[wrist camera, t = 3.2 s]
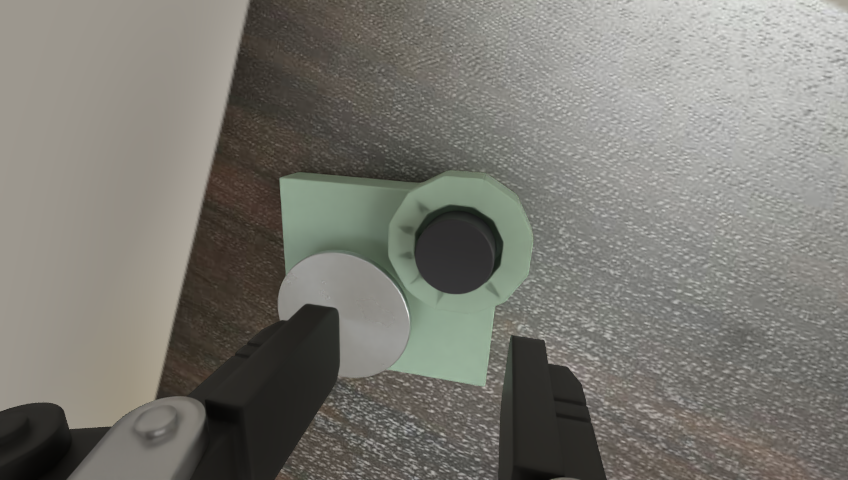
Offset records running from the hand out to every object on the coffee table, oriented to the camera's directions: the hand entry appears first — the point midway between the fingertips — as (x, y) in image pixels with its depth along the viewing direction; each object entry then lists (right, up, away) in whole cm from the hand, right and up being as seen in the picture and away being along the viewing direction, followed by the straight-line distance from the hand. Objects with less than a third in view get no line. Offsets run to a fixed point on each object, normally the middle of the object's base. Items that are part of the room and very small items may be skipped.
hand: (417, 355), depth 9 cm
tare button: (+2, +2, +8) cm, 8 cm away
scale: (-1, +1, +12) cm, 12 cm away
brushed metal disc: (-4, -1, +9) cm, 10 cm away
